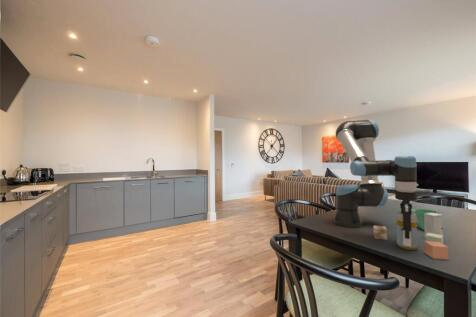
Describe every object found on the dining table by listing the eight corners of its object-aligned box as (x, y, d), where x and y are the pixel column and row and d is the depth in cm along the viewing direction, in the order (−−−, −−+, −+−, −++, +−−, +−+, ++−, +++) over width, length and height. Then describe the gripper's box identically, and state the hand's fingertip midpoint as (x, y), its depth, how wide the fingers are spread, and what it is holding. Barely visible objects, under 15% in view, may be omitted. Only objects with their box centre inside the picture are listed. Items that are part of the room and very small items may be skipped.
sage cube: (425, 246, 93) (425, 235, 93) (428, 243, 96) (428, 232, 96) (441, 250, 89) (441, 238, 89) (443, 246, 92) (443, 235, 92)
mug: (443, 231, 110) (443, 212, 110) (432, 234, 107) (432, 214, 107) (412, 223, 124) (412, 206, 124) (401, 225, 121) (401, 208, 121)
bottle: (392, 244, 95) (392, 211, 95) (407, 243, 96) (406, 211, 96) (406, 251, 88) (405, 215, 88) (421, 250, 89) (420, 215, 89)
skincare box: (434, 241, 98) (433, 215, 98) (423, 237, 102) (423, 213, 102) (444, 239, 99) (443, 214, 99) (433, 236, 104) (433, 212, 104)
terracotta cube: (433, 258, 82) (432, 246, 82) (424, 253, 87) (424, 241, 87) (448, 259, 81) (448, 246, 81) (438, 254, 86) (438, 241, 86)
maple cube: (374, 238, 103) (374, 228, 103) (373, 235, 107) (373, 225, 107) (387, 240, 101) (387, 229, 100) (385, 236, 105) (385, 226, 105)
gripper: (419, 195, 82) (420, 253, 82) (414, 188, 98) (415, 236, 98) (395, 193, 86) (396, 248, 86) (394, 187, 103) (395, 233, 103)
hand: (406, 242), depth 92 cm, fingers open, 8 cm apart
